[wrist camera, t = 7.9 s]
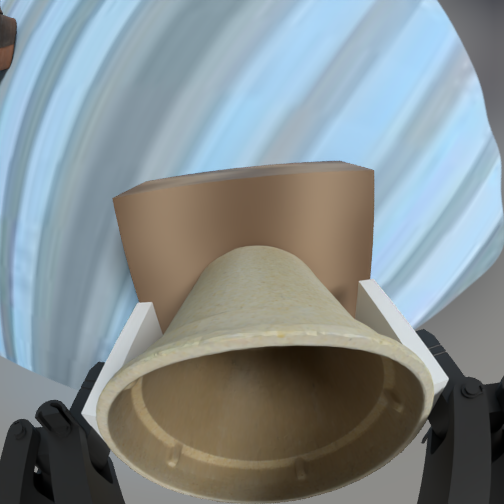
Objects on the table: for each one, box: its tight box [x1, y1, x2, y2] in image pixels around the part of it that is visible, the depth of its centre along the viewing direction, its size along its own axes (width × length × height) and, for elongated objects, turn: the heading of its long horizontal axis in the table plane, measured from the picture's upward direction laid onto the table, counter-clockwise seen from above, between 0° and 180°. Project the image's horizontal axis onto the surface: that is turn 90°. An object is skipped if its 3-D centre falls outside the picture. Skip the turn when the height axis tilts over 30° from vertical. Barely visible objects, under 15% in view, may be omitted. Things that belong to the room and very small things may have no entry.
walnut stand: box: [113, 161, 374, 334], centre depth 16 cm, size 12×12×5 cm
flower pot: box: [96, 245, 434, 504], centre depth 10 cm, size 9×9×9 cm
